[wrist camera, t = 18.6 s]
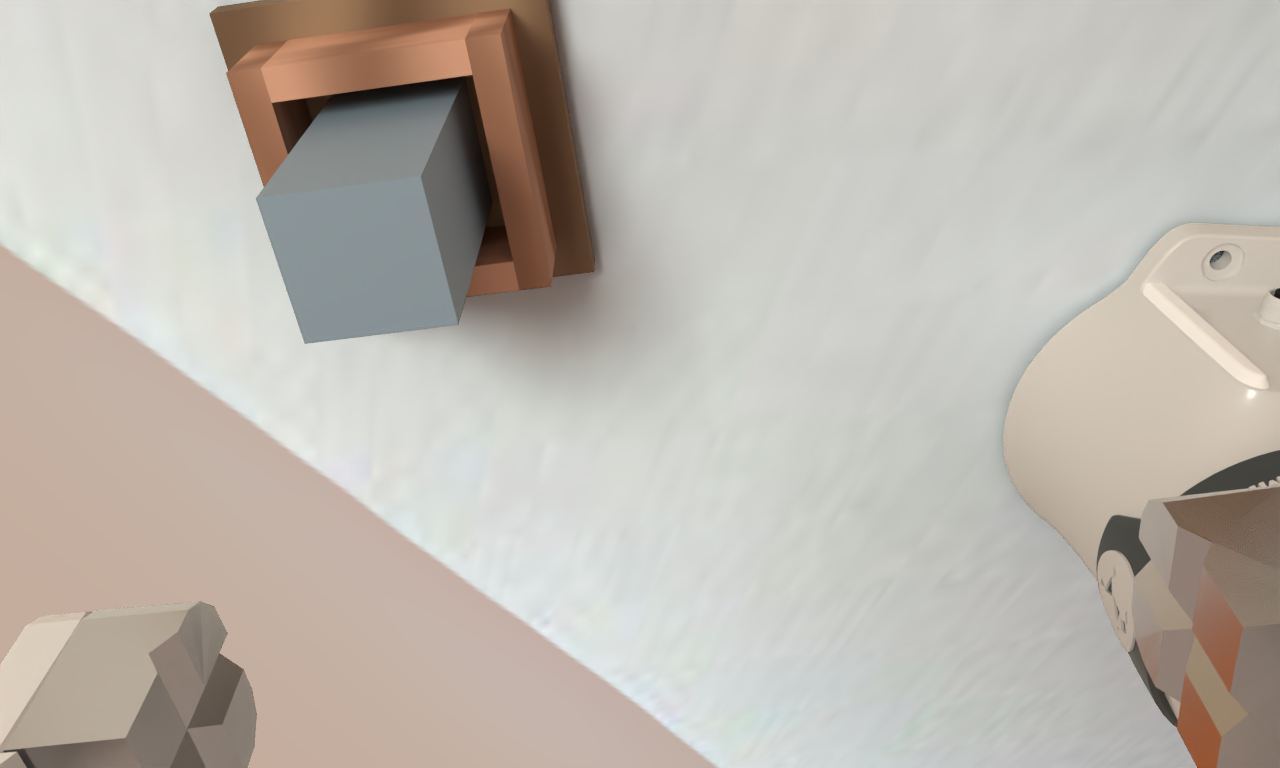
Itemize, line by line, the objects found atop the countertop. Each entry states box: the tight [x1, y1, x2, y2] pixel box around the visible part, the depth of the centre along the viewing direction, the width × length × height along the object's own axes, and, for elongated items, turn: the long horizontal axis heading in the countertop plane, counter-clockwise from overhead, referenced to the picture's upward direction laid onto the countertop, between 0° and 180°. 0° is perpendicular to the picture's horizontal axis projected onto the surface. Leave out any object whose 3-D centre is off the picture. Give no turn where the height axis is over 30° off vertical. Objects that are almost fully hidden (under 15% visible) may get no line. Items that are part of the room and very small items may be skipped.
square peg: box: [256, 76, 493, 344], centre depth 39 cm, size 5×5×10 cm
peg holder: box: [210, 0, 595, 297], centre depth 42 cm, size 12×12×4 cm
